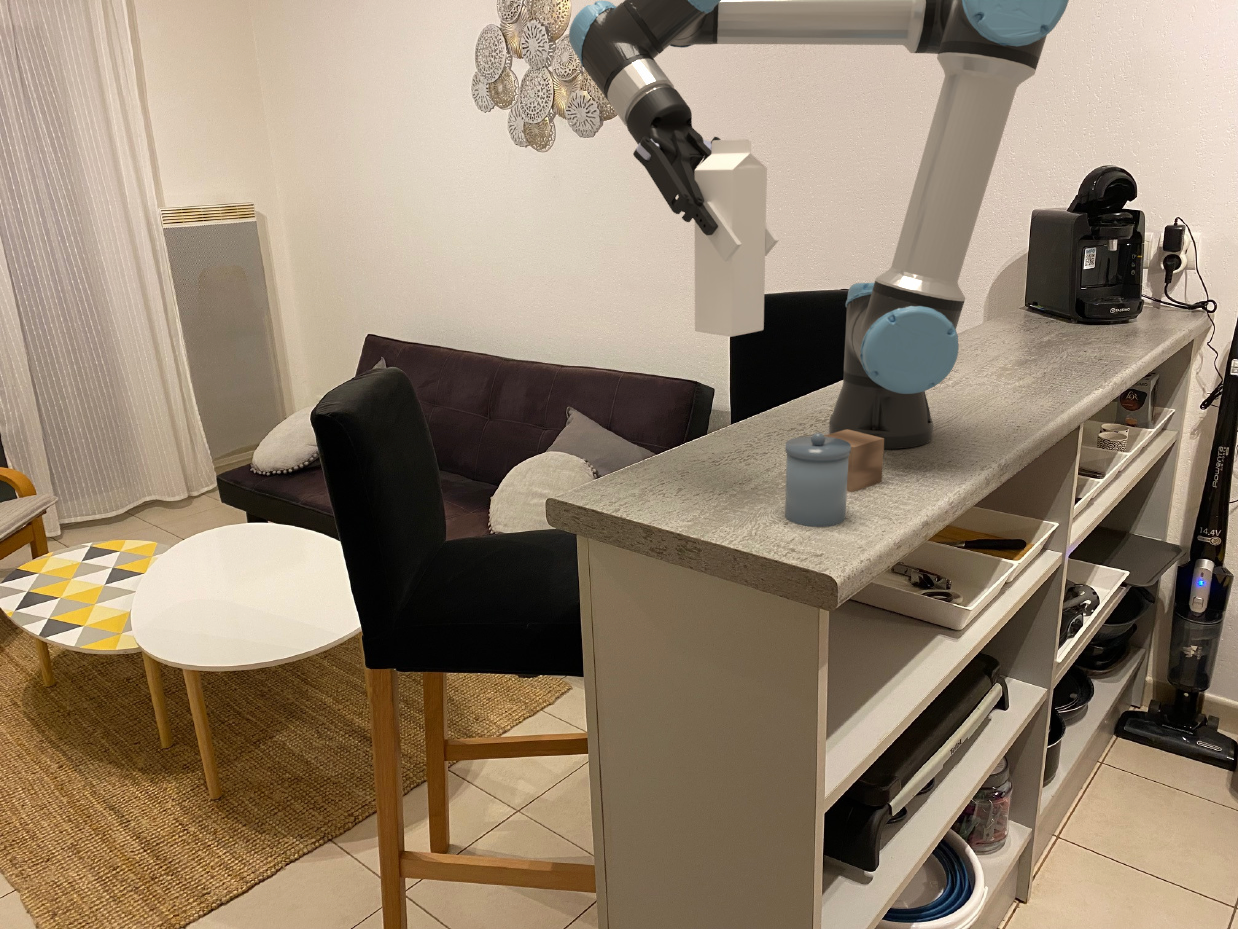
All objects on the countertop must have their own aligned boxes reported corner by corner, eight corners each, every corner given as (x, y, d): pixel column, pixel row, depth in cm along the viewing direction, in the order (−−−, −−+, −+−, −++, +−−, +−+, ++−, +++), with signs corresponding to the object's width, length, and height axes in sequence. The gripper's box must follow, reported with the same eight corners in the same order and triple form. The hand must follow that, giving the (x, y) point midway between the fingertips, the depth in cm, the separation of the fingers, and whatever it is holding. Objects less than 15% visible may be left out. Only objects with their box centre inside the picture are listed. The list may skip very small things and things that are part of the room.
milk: (731, 337, 112) (732, 139, 105) (693, 331, 116) (693, 140, 109) (764, 330, 116) (768, 138, 109) (727, 324, 120) (728, 139, 113)
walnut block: (845, 472, 128) (847, 429, 126) (881, 482, 124) (884, 438, 122) (815, 481, 125) (816, 437, 123) (851, 492, 120) (853, 447, 118)
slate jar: (823, 502, 117) (827, 421, 114) (860, 521, 110) (864, 436, 107) (771, 511, 114) (773, 429, 111) (805, 531, 108) (808, 445, 105)
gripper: (688, 132, 126) (784, 265, 119) (578, 132, 114) (678, 280, 107) (719, 86, 120) (821, 222, 114) (607, 80, 108) (714, 232, 102)
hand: (751, 250), depth 110 cm, fingers closed on milk, 6 cm apart
